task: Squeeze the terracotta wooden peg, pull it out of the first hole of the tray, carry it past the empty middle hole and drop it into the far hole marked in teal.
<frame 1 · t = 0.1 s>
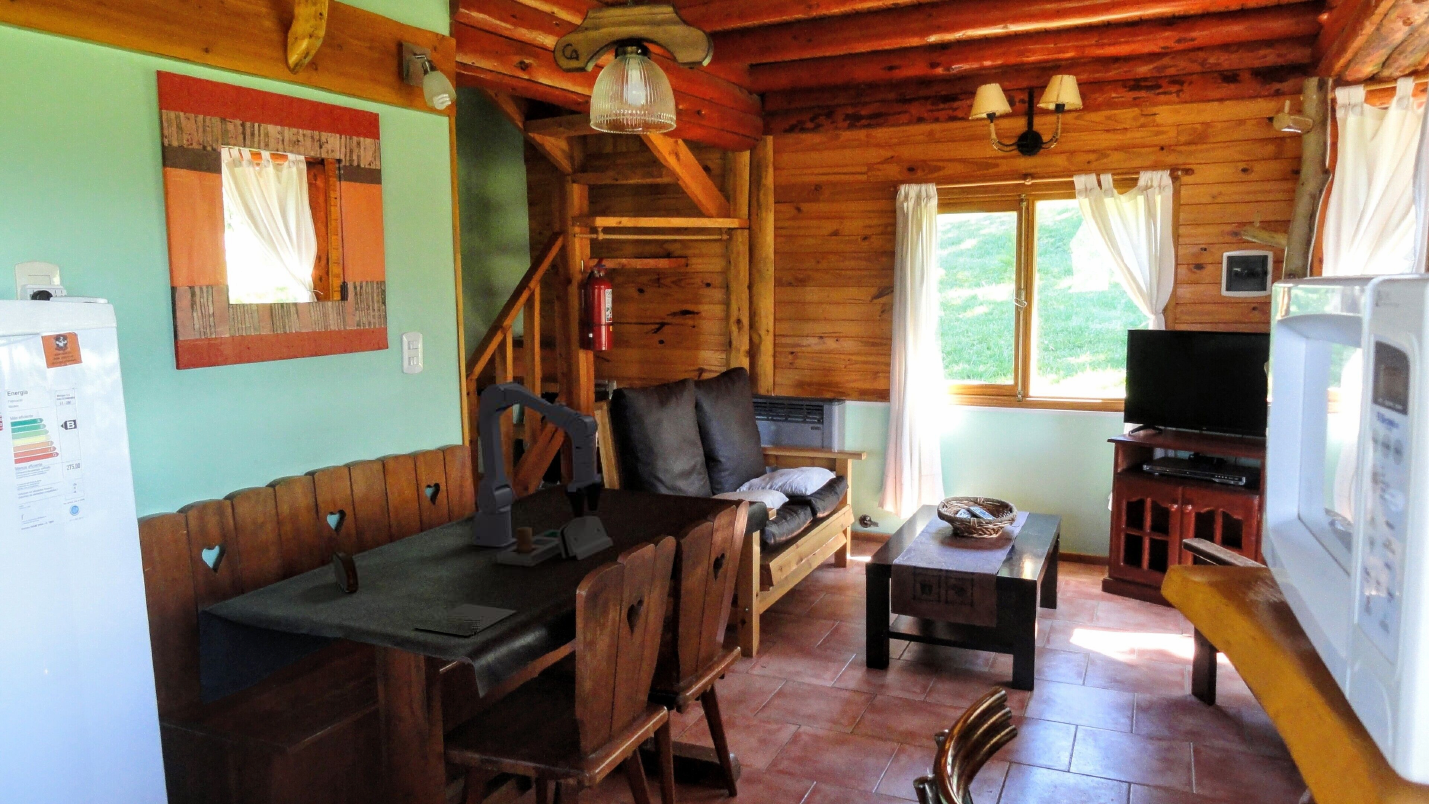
hand: (585, 513, 256), 10 cm above the table, tool pointing down, fingers open, 7 cm apart
peg: (525, 559, 251), resting in tray
hinge: (584, 551, 258), on the table
dark grey mat: (460, 614, 210), on the table
tray: (541, 551, 258), on the table
tin: (346, 588, 230), on the table
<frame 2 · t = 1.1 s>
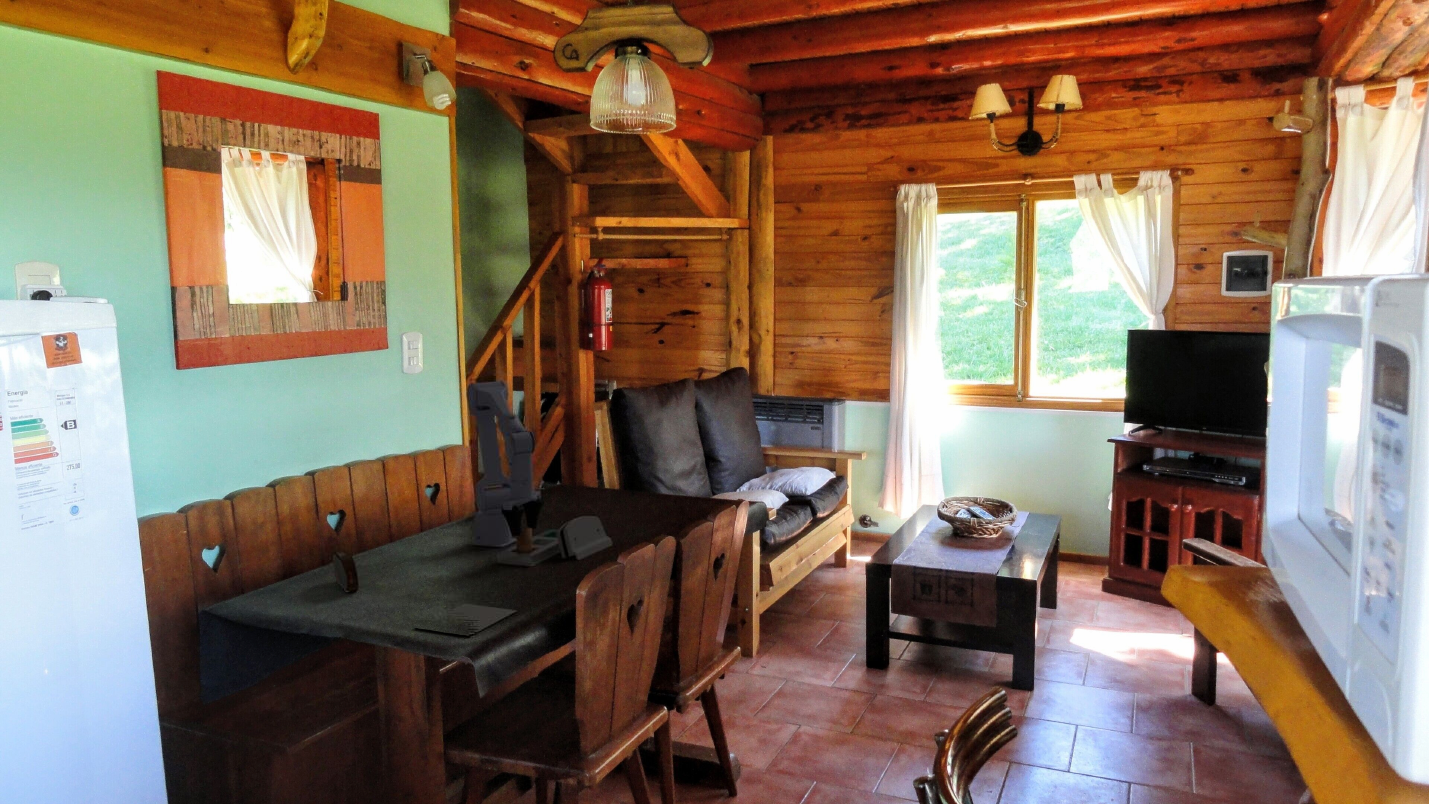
hand: (523, 531, 250), 7 cm above the table, tool pointing down, fingers open, 7 cm apart
nothing on the table moved.
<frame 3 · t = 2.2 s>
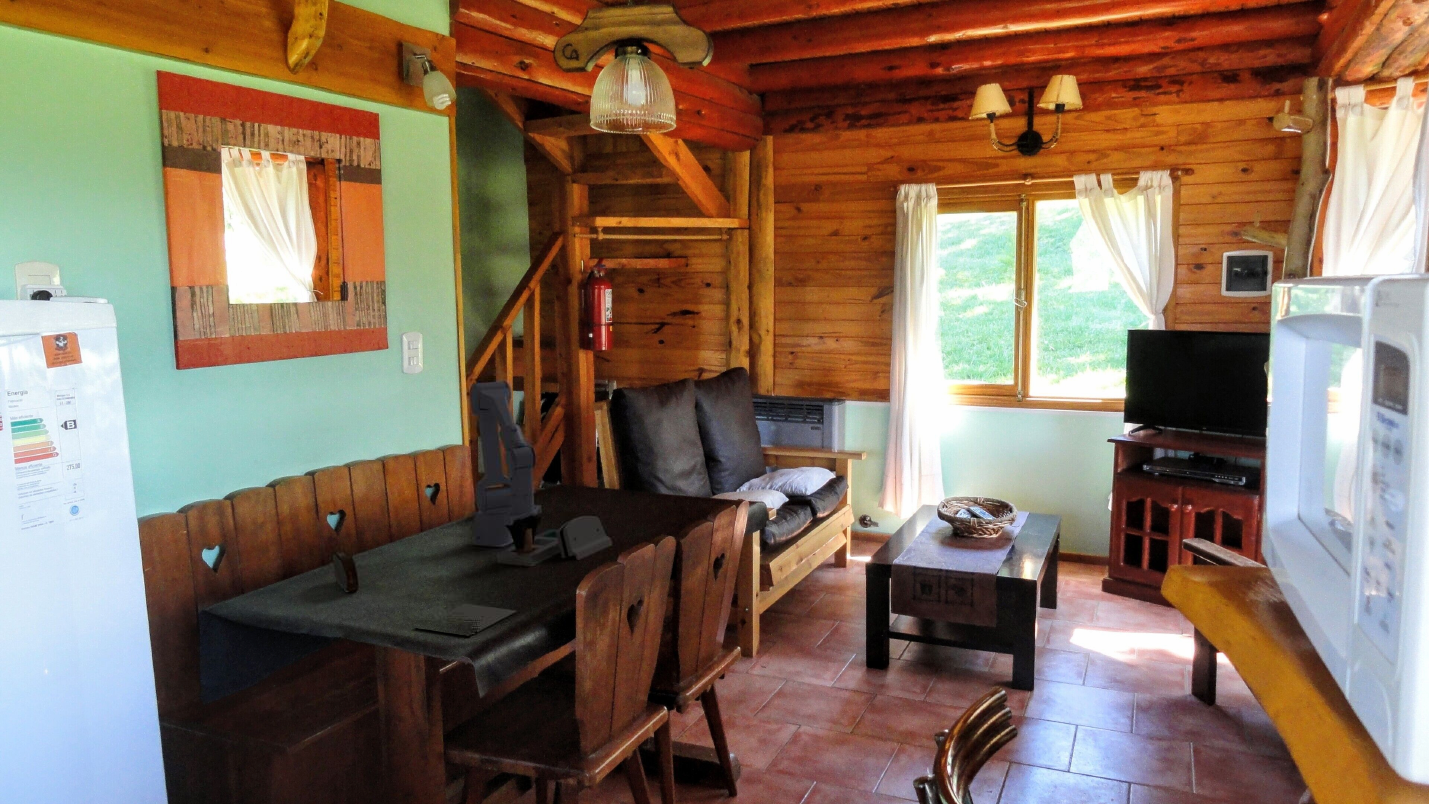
hand: (524, 546, 250), 3 cm above the table, tool pointing down, fingers closed on peg, 4 cm apart
peg: (525, 559, 250), resting in tray, touching gripper
everything else where it was.
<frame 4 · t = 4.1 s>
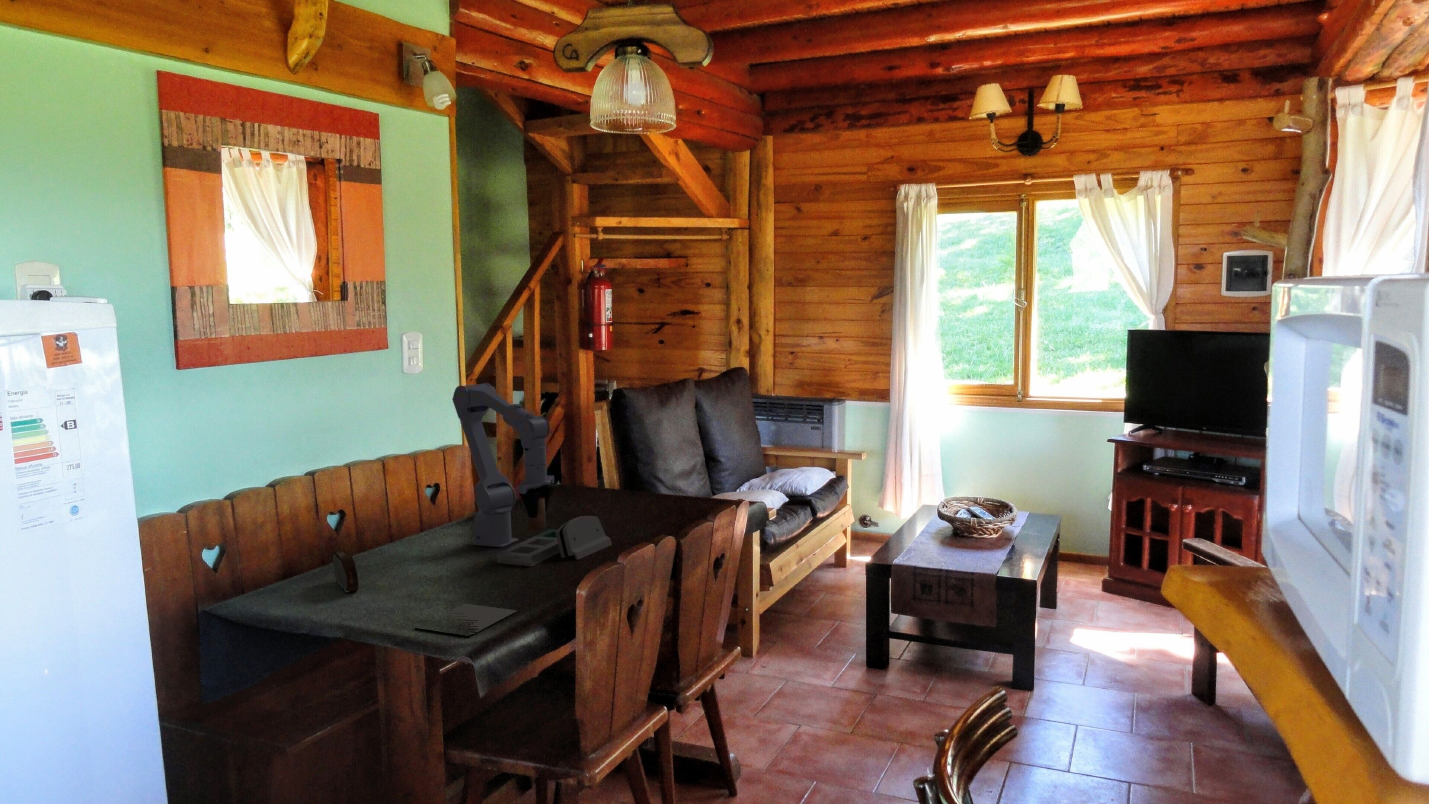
hand: (537, 515, 256), 10 cm above the table, tool pointing down, fingers closed on peg, 4 cm apart
peg: (538, 528, 256), point 6 cm above the table, touching gripper
everything else where it was.
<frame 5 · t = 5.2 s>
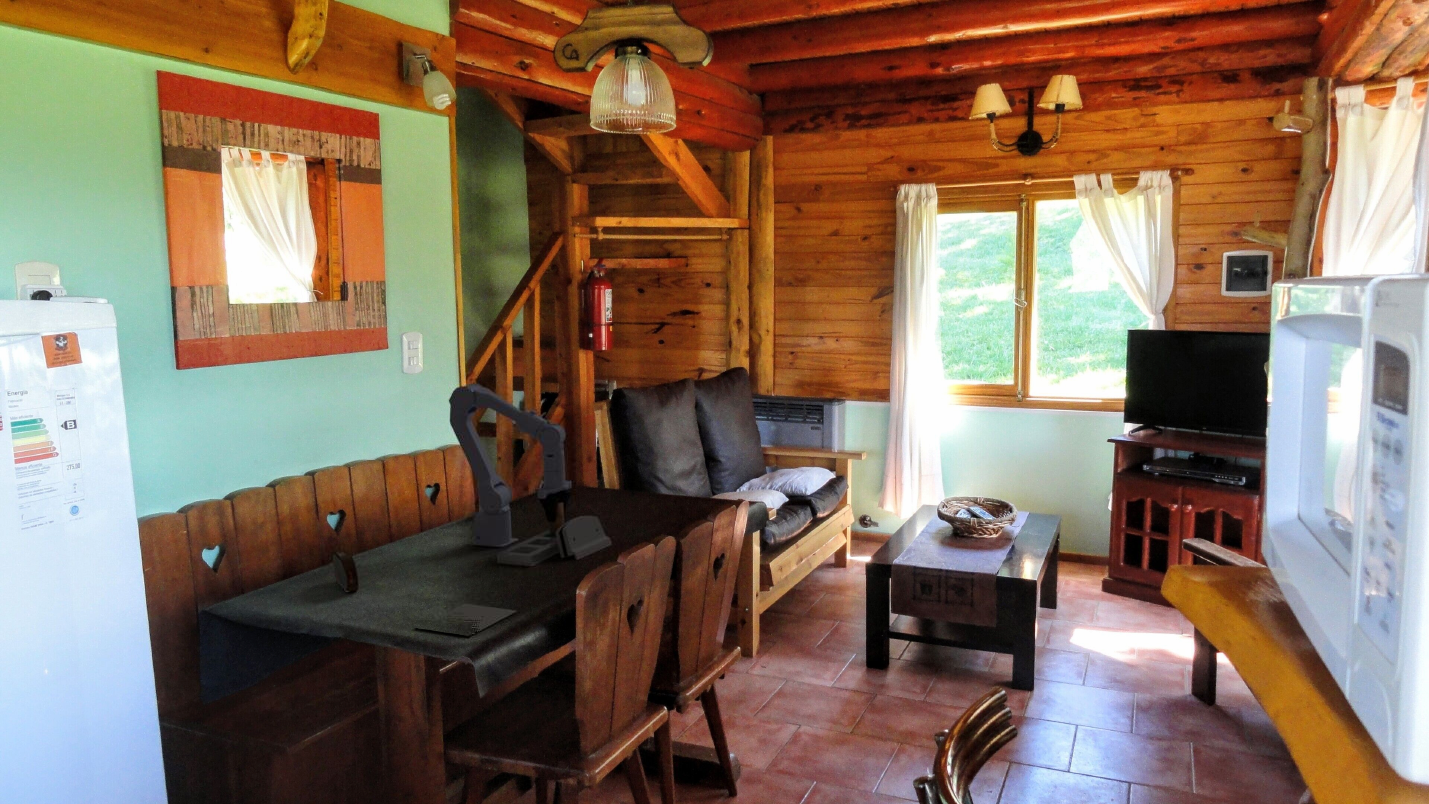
hand: (556, 519, 265), 7 cm above the table, tool pointing down, fingers closed on peg, 4 cm apart
peg: (557, 531, 265), point 3 cm above the table, touching gripper
everything else where it was.
when the fingers open (4 cm above the table, at t = 6.0 s): peg moves 1 cm, resting in tray.
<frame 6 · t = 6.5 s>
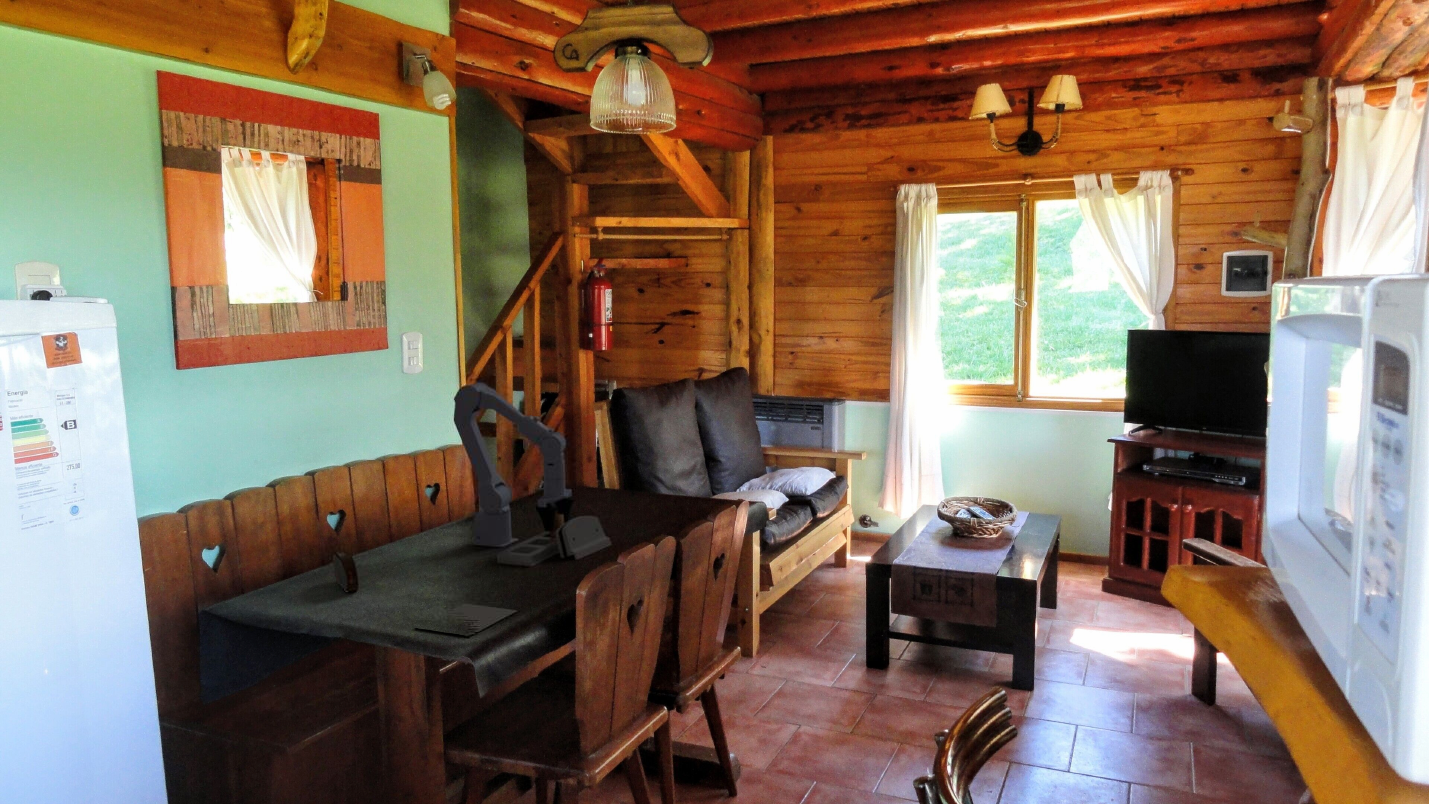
hand: (556, 527, 265), 4 cm above the table, tool pointing down, fingers open, 7 cm apart
peg: (557, 543, 265), resting in tray
everything else where it was.
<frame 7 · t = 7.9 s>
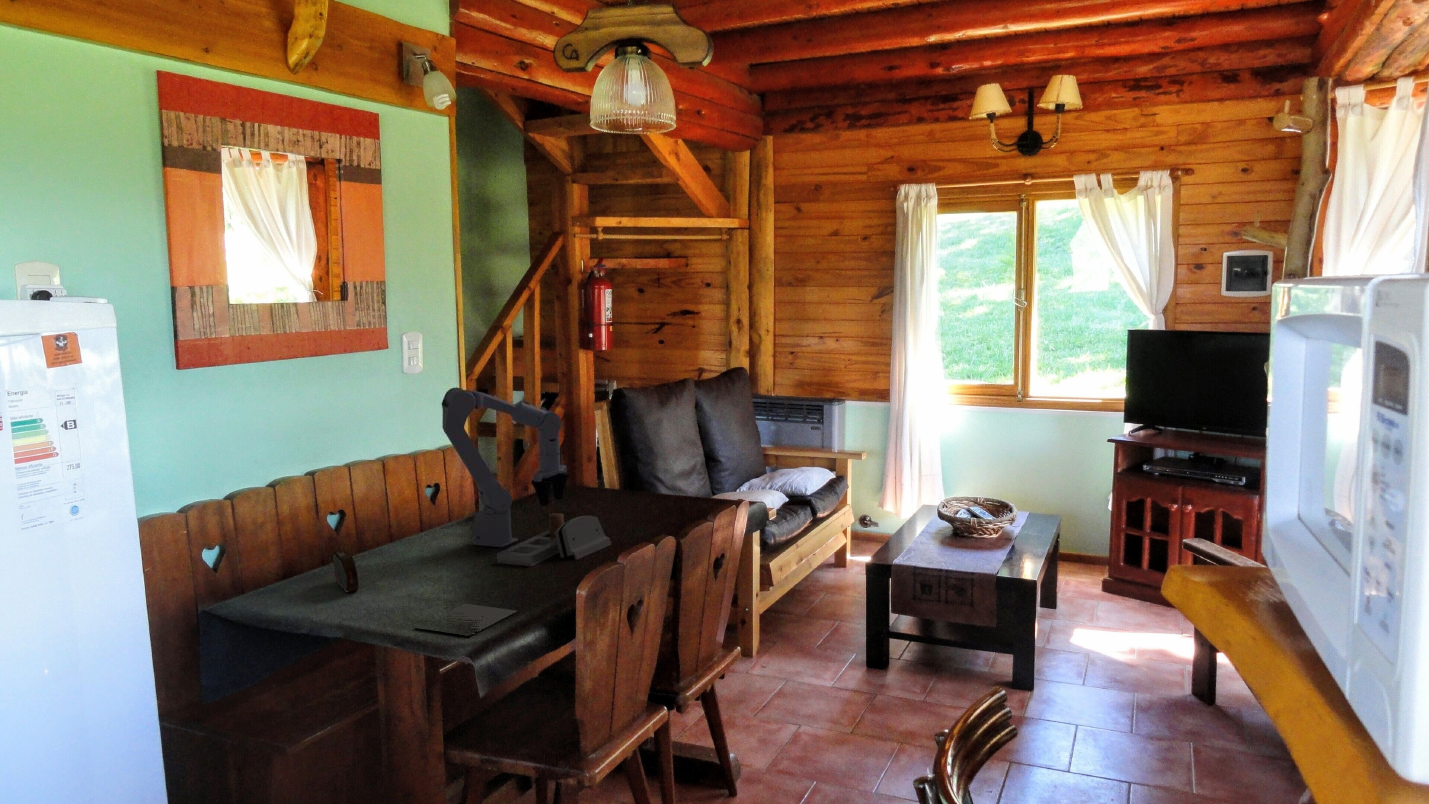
hand: (551, 502, 274), 9 cm above the table, tool pointing down, fingers open, 7 cm apart
nothing on the table moved.
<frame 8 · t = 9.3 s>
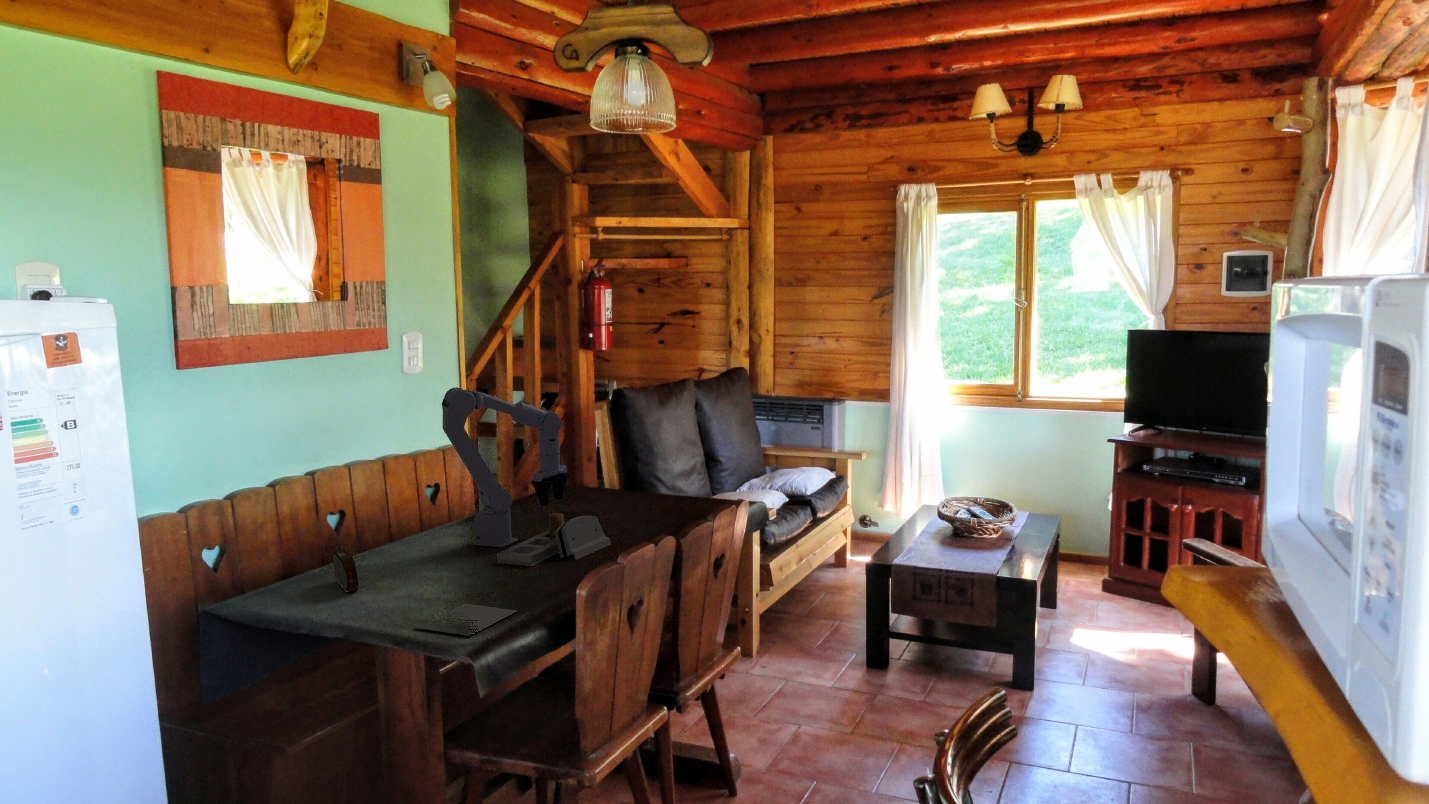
hand: (551, 502, 274), 9 cm above the table, tool pointing down, fingers open, 7 cm apart
nothing on the table moved.
at the end: peg 0.1 cm from the target spot on the tray, point 0.0 cm above the tray's base; peg tilted 0°; the gripper is holding nothing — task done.
